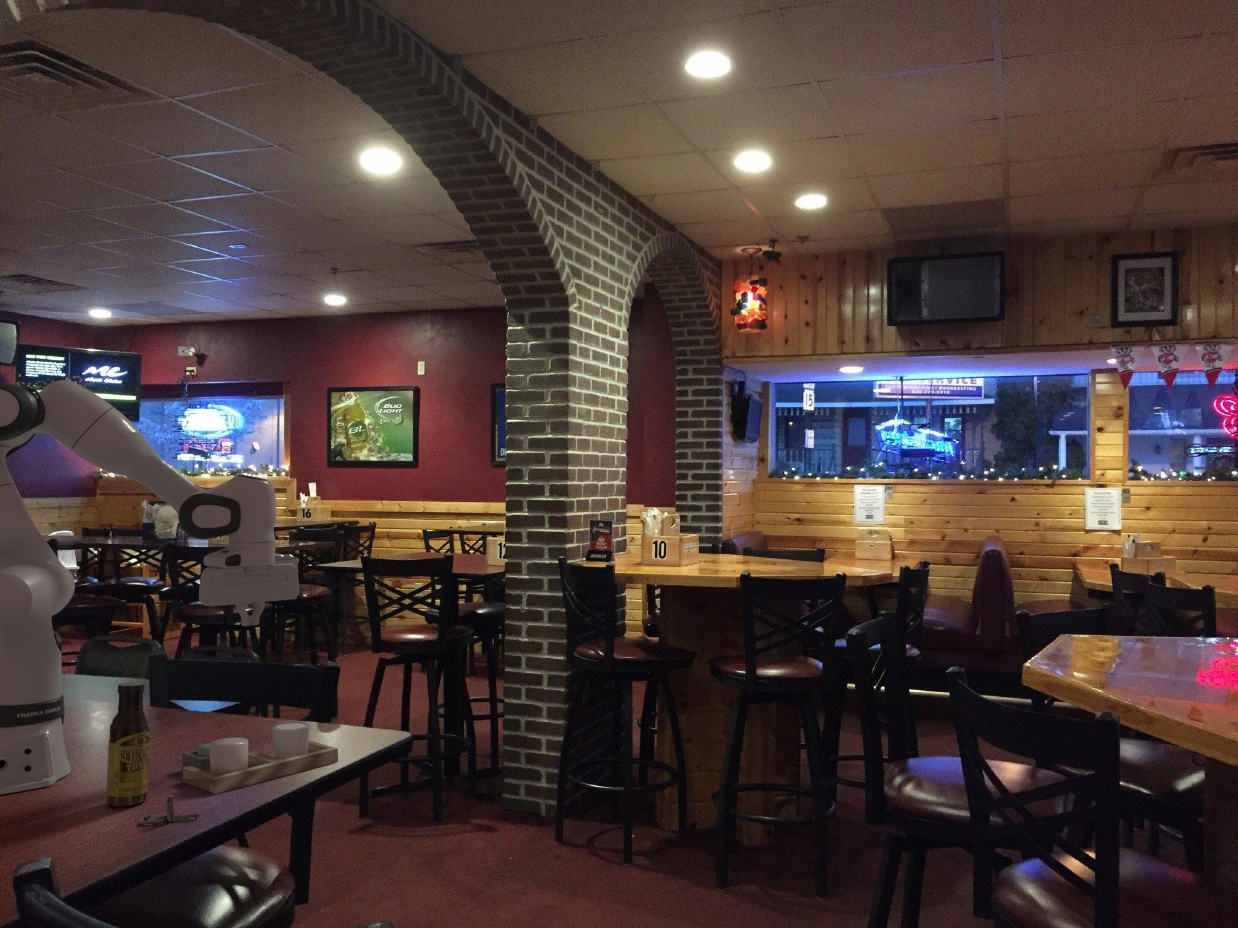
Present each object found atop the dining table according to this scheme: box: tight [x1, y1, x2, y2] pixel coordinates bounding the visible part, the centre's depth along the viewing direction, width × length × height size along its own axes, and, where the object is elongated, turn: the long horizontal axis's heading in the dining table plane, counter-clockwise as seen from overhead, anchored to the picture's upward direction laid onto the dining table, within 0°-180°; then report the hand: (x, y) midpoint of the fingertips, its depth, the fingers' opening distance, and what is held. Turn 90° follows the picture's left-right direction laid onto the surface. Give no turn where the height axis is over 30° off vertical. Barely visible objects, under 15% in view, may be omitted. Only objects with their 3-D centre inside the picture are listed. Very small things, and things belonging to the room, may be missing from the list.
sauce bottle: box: [106, 681, 151, 808], centre depth 168 cm, size 6×6×20 cm
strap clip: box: [138, 794, 200, 825], centre depth 159 cm, size 8×3×4 cm, turn 105°
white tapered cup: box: [272, 721, 311, 760], centre depth 191 cm, size 7×7×7 cm
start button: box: [196, 742, 211, 757], centre depth 187 cm, size 4×4×3 cm
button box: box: [181, 749, 210, 773], centre depth 187 cm, size 7×7×3 cm
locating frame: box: [182, 740, 339, 795], centre depth 185 cm, size 25×11×2 cm, turn 141°
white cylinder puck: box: [209, 736, 249, 776], centre depth 179 cm, size 6×6×7 cm
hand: (250, 625), depth 200 cm, fingers closed
